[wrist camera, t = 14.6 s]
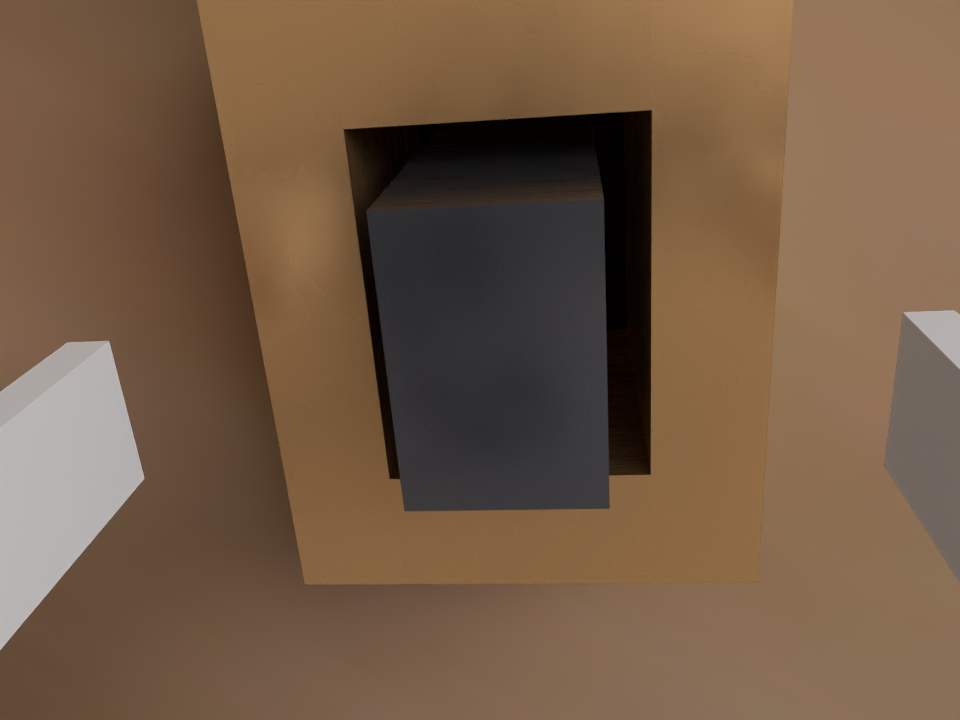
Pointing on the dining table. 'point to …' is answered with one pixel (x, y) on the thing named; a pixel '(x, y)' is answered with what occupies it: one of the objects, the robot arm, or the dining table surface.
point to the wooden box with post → (649, 265)
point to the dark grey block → (496, 317)
